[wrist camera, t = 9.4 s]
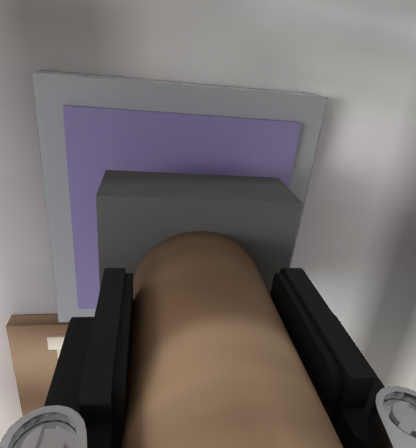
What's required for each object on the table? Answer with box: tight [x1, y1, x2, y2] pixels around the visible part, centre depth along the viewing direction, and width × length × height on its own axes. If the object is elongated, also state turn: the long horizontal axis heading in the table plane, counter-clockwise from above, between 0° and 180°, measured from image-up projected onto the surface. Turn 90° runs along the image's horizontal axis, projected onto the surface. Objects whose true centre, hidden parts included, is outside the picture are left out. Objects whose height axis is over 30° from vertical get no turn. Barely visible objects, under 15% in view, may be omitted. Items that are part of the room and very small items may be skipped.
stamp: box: [96, 170, 343, 448], centre depth 8 cm, size 6×6×13 cm
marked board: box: [6, 314, 69, 416], centre depth 22 cm, size 13×16×1 cm
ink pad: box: [32, 70, 328, 322], centre depth 16 cm, size 11×11×2 cm
